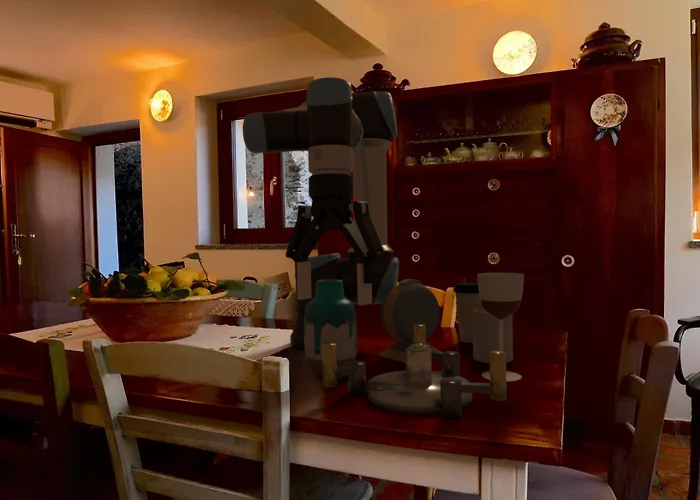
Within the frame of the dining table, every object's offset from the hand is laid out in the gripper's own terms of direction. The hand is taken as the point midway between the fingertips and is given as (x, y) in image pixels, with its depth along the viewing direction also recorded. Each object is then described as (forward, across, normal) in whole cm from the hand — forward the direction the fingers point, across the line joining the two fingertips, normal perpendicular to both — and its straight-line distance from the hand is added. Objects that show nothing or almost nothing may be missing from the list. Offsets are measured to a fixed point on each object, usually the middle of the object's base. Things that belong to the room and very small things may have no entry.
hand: (333, 301), depth 86 cm
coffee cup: (+17, -4, +58) cm, 60 cm away
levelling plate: (+17, +9, +12) cm, 23 cm away
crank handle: (+17, +6, +23) cm, 29 cm away
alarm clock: (+17, -8, +36) cm, 41 cm away
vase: (+17, -12, +12) cm, 24 cm away
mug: (+17, +8, +45) cm, 48 cm away
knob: (+17, 0, +3) cm, 17 cm away
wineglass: (+17, +16, +32) cm, 39 cm away
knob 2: (+17, +21, +8) cm, 28 cm away
